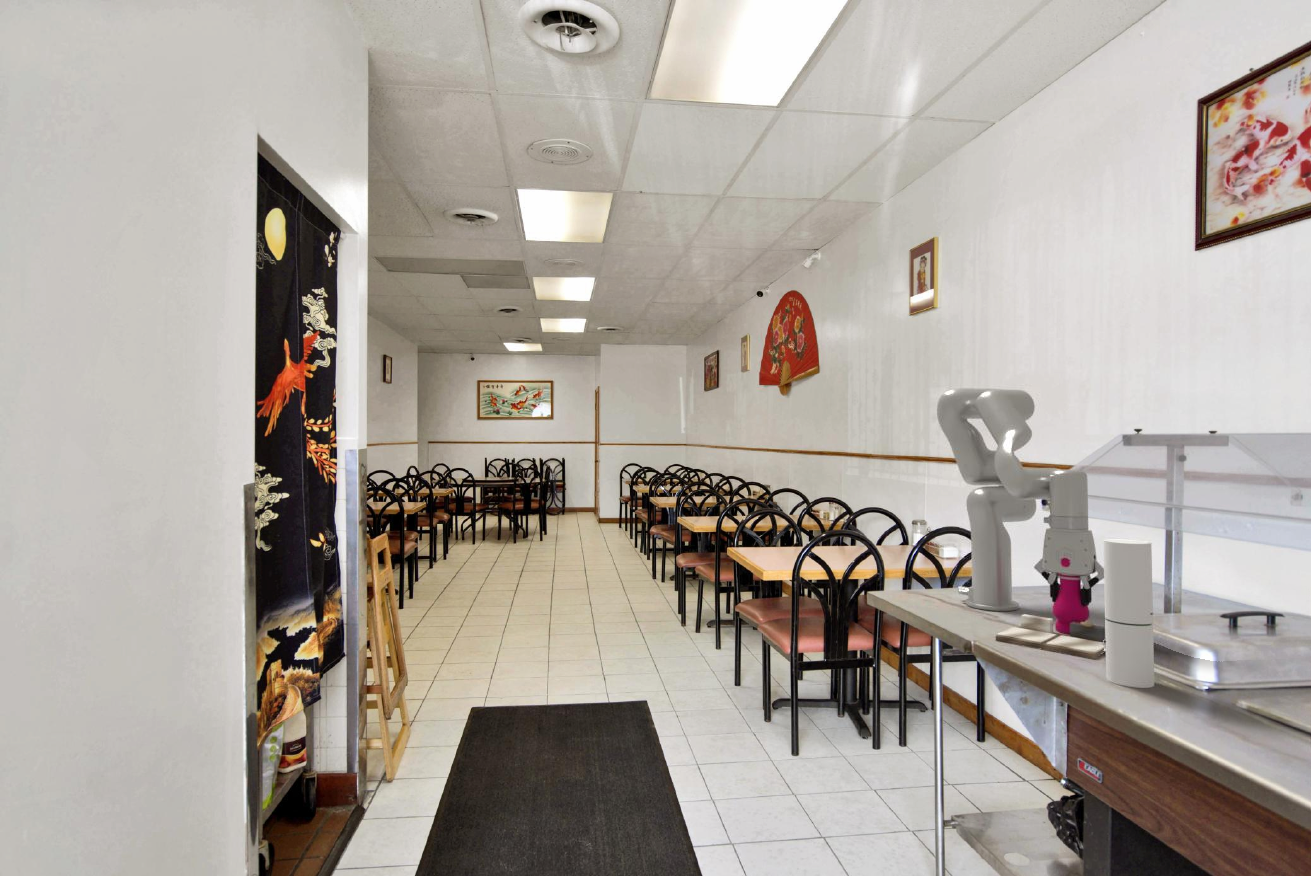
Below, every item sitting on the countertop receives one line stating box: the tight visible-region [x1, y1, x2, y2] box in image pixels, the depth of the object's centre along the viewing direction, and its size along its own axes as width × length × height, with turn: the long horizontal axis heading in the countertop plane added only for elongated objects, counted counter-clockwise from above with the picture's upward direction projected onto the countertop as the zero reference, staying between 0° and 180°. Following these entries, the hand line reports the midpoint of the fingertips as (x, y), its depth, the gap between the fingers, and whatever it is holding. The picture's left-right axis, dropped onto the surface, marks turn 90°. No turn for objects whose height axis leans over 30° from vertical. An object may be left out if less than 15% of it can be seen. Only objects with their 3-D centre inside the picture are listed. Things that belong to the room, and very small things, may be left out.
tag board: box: [995, 613, 1105, 660], centre depth 149 cm, size 19×12×4 cm, turn 42°
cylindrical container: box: [1103, 538, 1155, 689], centre depth 125 cm, size 7×7×25 cm
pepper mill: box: [1052, 558, 1090, 635], centre depth 160 cm, size 7×7×20 cm
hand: (1070, 602), depth 159 cm, fingers closed on pepper mill, 5 cm apart
